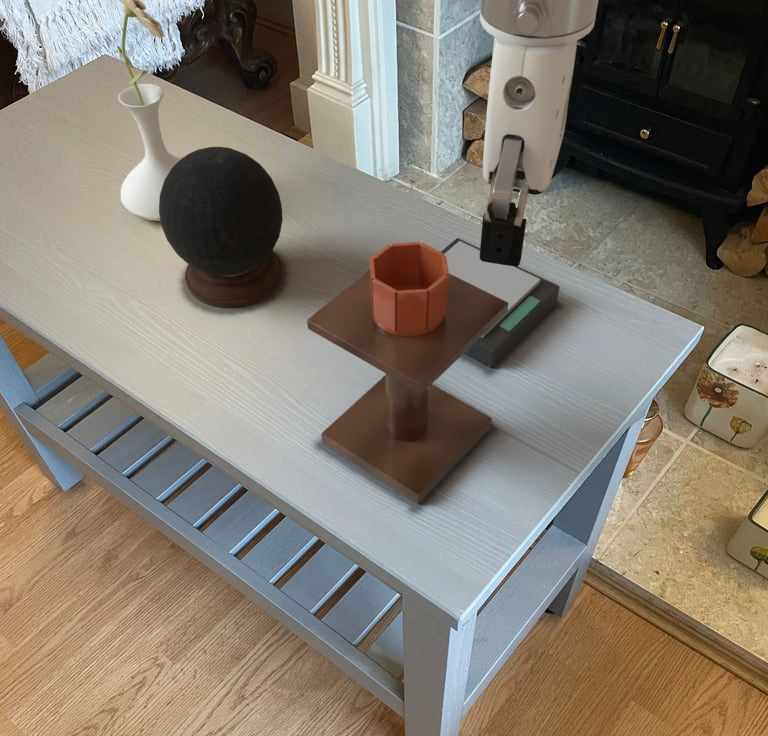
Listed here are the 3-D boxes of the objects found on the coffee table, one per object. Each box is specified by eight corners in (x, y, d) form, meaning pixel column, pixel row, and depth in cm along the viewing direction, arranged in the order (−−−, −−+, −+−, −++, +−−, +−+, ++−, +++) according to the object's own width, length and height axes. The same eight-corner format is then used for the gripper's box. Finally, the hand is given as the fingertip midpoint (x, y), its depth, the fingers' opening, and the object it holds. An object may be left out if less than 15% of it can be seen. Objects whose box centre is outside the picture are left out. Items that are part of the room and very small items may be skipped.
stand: (491, 427, 80) (509, 302, 67) (417, 504, 75) (421, 385, 62) (397, 374, 85) (396, 246, 72) (321, 443, 80) (306, 319, 66)
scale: (556, 303, 91) (561, 281, 88) (491, 368, 85) (493, 347, 83) (456, 254, 96) (457, 233, 93) (388, 313, 90) (387, 291, 88)
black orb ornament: (300, 244, 97) (286, 125, 85) (277, 318, 90) (258, 199, 78) (195, 236, 99) (166, 117, 86) (163, 309, 91) (127, 190, 79)
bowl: (440, 284, 69) (443, 240, 65) (449, 334, 65) (452, 290, 62) (369, 289, 69) (367, 244, 65) (374, 338, 65) (372, 294, 61)
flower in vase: (220, 221, 100) (173, 2, 80) (127, 236, 99) (56, 18, 78) (206, 163, 108) (160, -51, 87) (120, 177, 106) (53, -38, 85)
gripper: (579, 68, 46) (539, 301, 61) (614, -54, 56) (572, 172, 70) (452, 53, 48) (442, 285, 62) (507, -64, 57) (487, 160, 71)
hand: (511, 224), depth 66 cm, fingers open, 9 cm apart
